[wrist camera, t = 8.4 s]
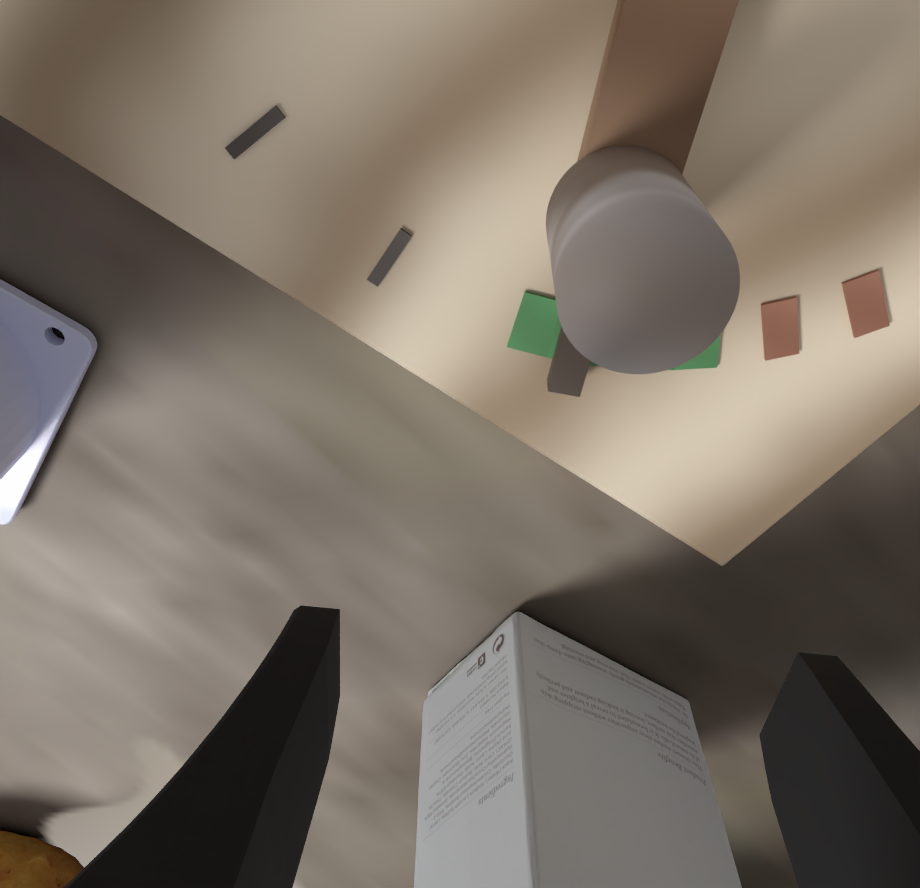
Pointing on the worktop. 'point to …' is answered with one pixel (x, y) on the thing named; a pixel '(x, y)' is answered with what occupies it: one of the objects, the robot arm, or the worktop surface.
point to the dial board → (528, 210)
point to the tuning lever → (641, 204)
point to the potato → (34, 863)
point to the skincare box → (562, 774)
